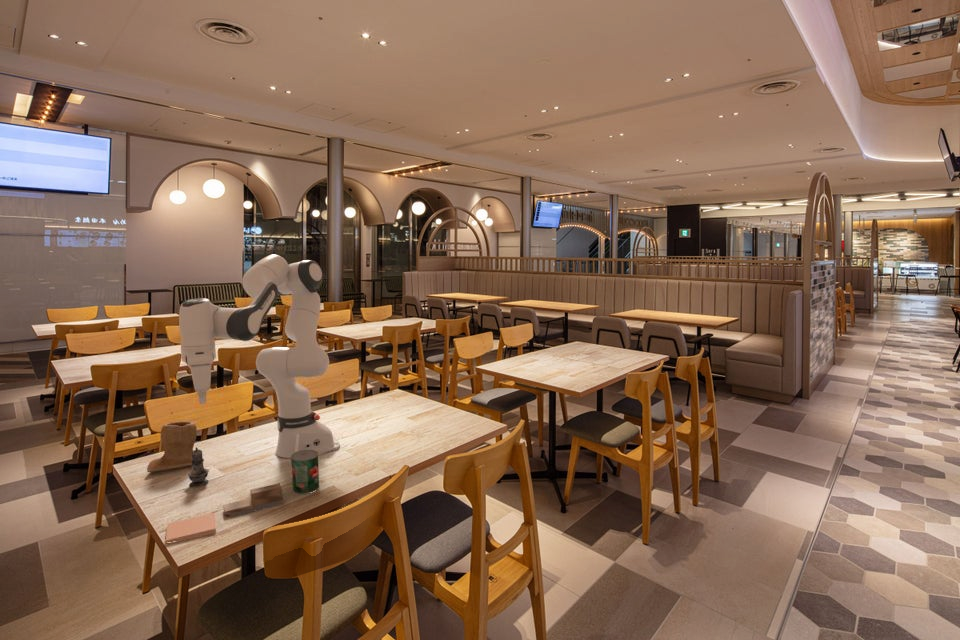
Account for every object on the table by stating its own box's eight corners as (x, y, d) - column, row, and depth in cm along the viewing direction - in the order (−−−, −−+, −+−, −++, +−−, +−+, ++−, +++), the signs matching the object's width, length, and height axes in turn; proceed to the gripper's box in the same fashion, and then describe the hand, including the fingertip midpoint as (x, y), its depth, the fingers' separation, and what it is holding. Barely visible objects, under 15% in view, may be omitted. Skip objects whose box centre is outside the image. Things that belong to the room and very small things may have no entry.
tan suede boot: (201, 455, 176) (198, 415, 174) (200, 467, 165) (198, 425, 163) (150, 463, 168) (147, 421, 166) (147, 477, 158) (143, 433, 156)
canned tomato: (321, 490, 150) (320, 456, 149) (294, 496, 146) (293, 462, 145) (316, 480, 157) (315, 447, 156) (290, 485, 153) (289, 452, 152)
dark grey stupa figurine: (190, 480, 156) (187, 444, 154) (211, 478, 158) (208, 442, 156) (186, 488, 150) (183, 451, 149) (207, 486, 152) (205, 449, 151)
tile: (214, 512, 135) (167, 523, 129) (215, 528, 127) (165, 540, 121) (214, 518, 135) (167, 529, 129) (216, 534, 127) (166, 546, 122)
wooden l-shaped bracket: (279, 494, 146) (279, 482, 146) (282, 500, 142) (281, 487, 142) (223, 508, 138) (222, 494, 138) (225, 515, 134) (224, 501, 134)
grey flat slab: (279, 495, 147) (279, 493, 147) (283, 504, 142) (283, 502, 142) (227, 507, 139) (227, 505, 139) (229, 517, 134) (229, 515, 134)
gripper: (185, 348, 151) (188, 392, 153) (187, 361, 134) (190, 409, 135) (208, 347, 154) (211, 389, 156) (213, 358, 137) (216, 406, 139)
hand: (201, 399), depth 146 cm, fingers open, 8 cm apart
